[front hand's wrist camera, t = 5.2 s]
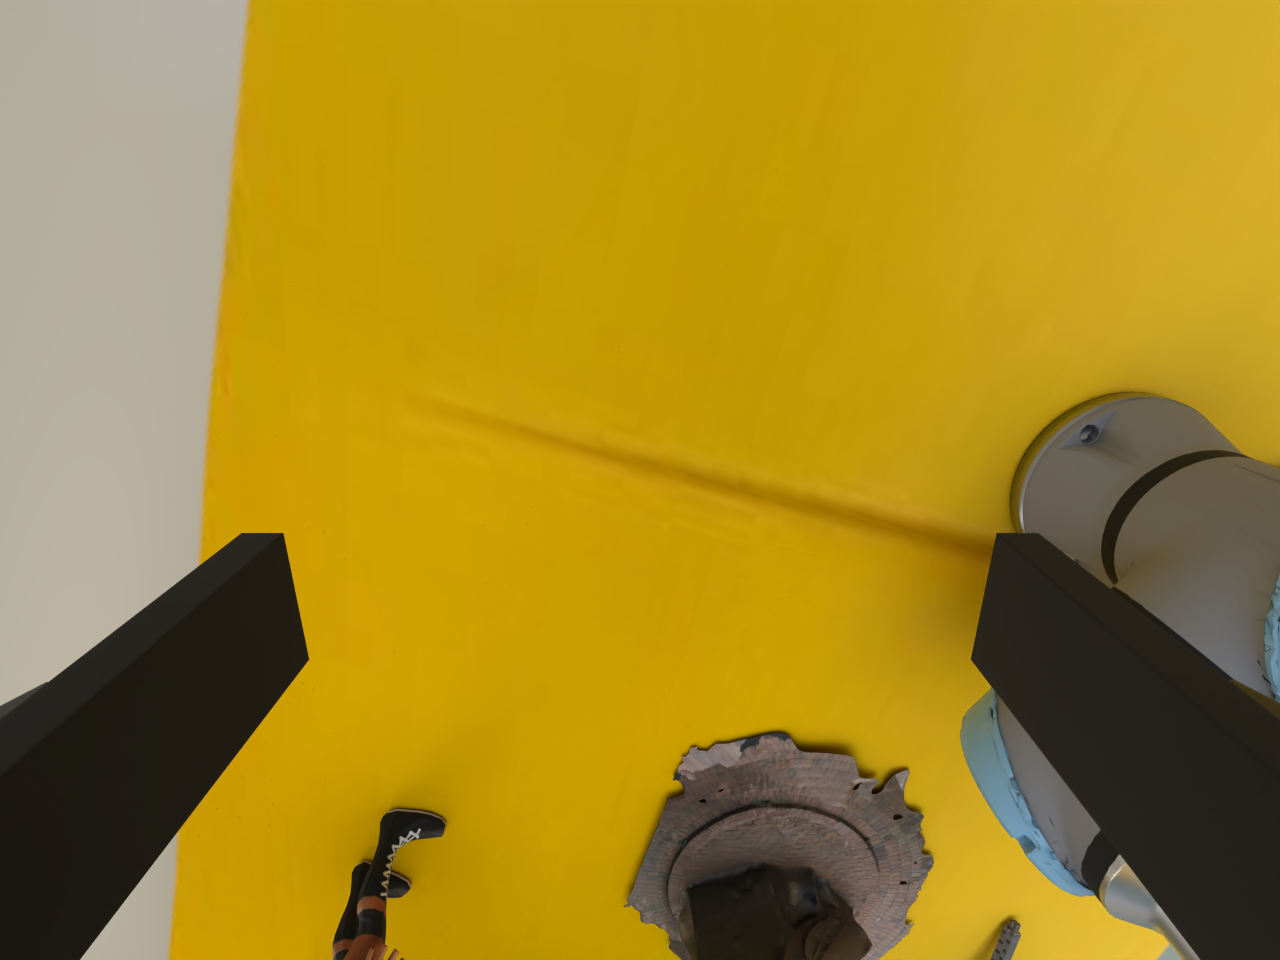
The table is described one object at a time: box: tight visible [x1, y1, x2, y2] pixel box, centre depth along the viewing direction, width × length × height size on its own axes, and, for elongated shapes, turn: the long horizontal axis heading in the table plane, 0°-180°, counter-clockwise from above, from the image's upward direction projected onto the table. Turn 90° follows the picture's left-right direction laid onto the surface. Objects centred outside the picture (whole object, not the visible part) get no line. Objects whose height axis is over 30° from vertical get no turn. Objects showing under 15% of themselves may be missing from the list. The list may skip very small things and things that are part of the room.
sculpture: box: [623, 733, 934, 960], centre depth 61 cm, size 33×35×16 cm
